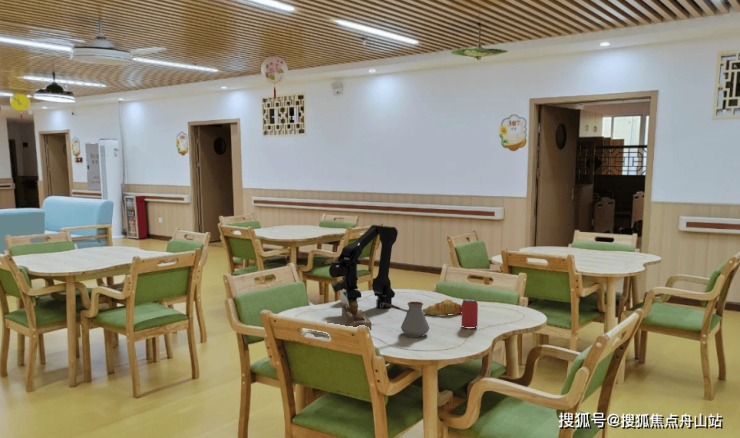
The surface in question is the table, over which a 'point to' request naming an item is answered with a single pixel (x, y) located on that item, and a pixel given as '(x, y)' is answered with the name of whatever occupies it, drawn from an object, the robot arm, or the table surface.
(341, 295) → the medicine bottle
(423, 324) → the coffee pot
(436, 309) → the croissant
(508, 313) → the table surface
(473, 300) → the beer can
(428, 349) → the table surface
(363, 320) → the guide board
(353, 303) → the brass clip block
